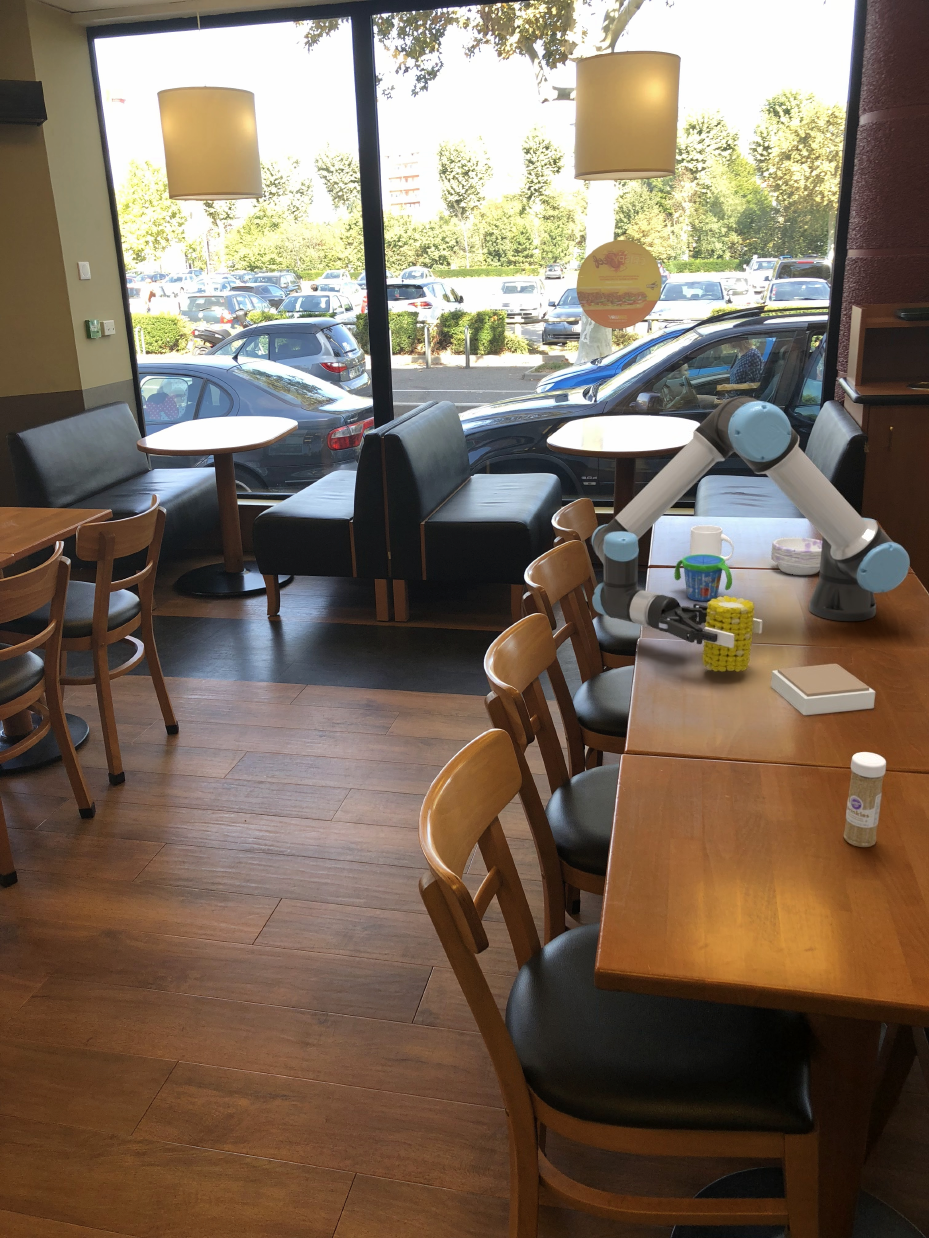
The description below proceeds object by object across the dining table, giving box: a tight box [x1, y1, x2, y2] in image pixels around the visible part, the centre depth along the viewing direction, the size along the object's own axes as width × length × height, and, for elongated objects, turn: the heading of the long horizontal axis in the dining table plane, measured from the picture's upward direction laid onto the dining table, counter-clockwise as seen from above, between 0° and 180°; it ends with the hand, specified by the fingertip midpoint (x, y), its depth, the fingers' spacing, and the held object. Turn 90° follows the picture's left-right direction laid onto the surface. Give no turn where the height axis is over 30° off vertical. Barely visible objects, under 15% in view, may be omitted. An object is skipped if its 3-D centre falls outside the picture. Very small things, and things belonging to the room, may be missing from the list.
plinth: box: [770, 663, 876, 716], centre depth 189 cm, size 14×14×4 cm
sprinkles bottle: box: [843, 751, 887, 848], centre depth 140 cm, size 5×5×13 cm
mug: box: [689, 524, 735, 562], centre depth 274 cm, size 9×12×11 cm
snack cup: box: [673, 554, 733, 602], centre depth 248 cm, size 16×10×10 cm
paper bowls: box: [770, 536, 822, 576], centre depth 267 cm, size 15×15×8 cm
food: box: [701, 595, 755, 672], centre depth 199 cm, size 15×12×10 cm
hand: (747, 633), depth 196 cm, fingers closed on food, 10 cm apart
